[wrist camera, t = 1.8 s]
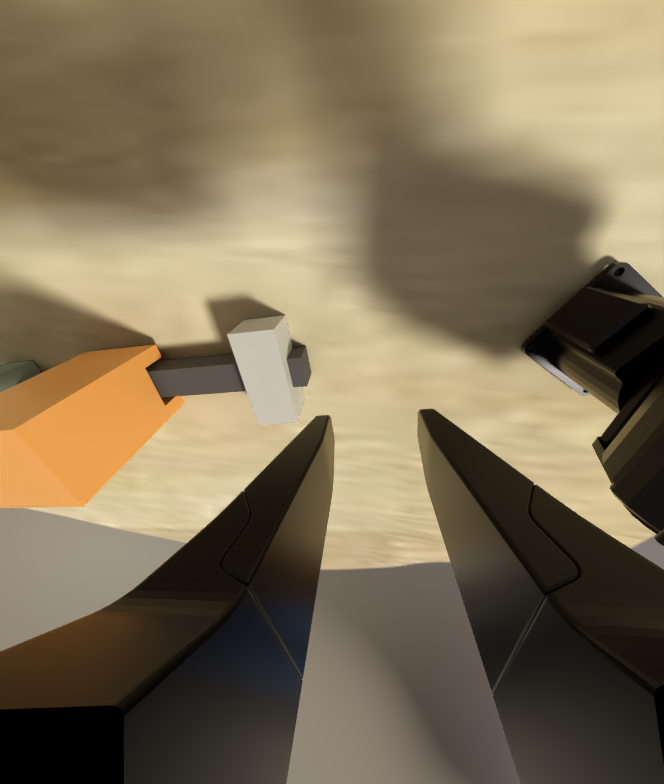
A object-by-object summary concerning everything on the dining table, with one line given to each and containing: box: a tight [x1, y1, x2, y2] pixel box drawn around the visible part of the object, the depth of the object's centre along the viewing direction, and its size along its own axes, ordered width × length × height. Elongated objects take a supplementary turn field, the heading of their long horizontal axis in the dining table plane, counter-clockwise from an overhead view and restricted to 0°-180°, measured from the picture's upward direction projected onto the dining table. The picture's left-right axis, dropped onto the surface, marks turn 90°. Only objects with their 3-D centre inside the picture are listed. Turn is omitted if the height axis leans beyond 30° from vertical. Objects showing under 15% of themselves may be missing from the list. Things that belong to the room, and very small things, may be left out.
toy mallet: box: [0, 315, 311, 425], centre depth 20 cm, size 26×7×5 cm, turn 98°
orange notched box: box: [0, 345, 184, 508], centre depth 18 cm, size 6×5×10 cm
